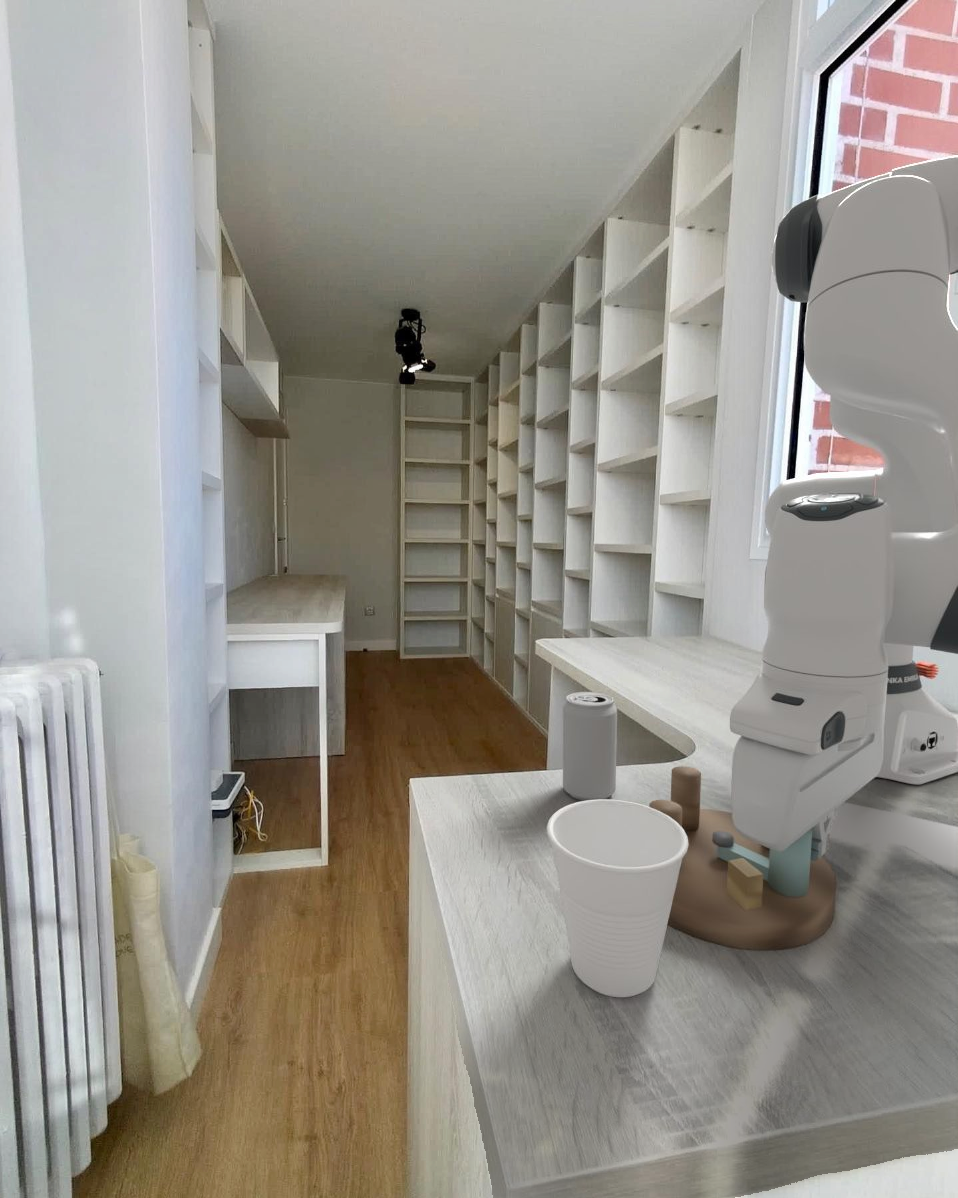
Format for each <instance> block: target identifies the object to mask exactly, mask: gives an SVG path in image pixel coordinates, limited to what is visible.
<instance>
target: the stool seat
mask: <svg viewBox="0 0 958 1198" xmlns="http://www.w3.org/2000/svg"><path fill="white" fill-rule="evenodd" d="M670 779H671V780H670V800H667V799H655V800H652V801H650V803H649V805H648V807H651V808H653V809H656V810H658V811H660V812H662V813H664V814H666V815H668V816H669V817H671V818H672V819H673V820H675V821H676V822H677V823H678V824H679V825H680V826H681V827H682V828H683V829H684V831H685V833H686V835H687V837H688V844H689V846H688V849H687V852H686V854H685V855H684V857H683V858H682V862H681V866H680V871H679V875H678V880H677V884H676V889H675V893H674V897H673V901H672V906H671V910H670V914H669V919H668V924H667V926H670V927H671V928H673V929H676V930H677V931H680V932H682V933H684V934H687V935H688V936H692V937H693V938H697V939H700V940H701V941H706V942H709V943H712V944H716V945H721V946H725V947H729V948H735V949H742V950H751V951H752V950H753V951H777V950H778V951H779V950H780V951H781V950H787V949H794V948H797V947H801V946H804V945H807V944H809V943H811V942H814V941H816V940H818V939H819V938H820V937H821V936H823V935H824V934H826V932H827V931H828V930H829V929H831V926H832V924H833V921H834V918H835V917H834V915H835V907H836V895H837V894H836V893H837V881H836V876H835V873H834V871H833V869H832V867H831V866H830V864H829V862H828V861H827V860H826V859H825V858H824V857H823V856H821V858H819V859H818V860H817V861H812V860H810V873H809V889H808V894H807V895H805V896H803V897H790V896H786V895H783V894H780V893H778V892H776V891H775V890H773V889H772V888H771V887H770V886H769V884H768V881H766V880H764V879H763V874H762V873H761V872H760V871H759V870H757V869H756V868H755V867H754V866H752V865H751V864H750V863H749V862H747V861H746V860H745V859H744V858H740V859H734V860H728V862H727V861H725V860H723V859H721V858H719V857H717V845H715V844H714V843H713V841H712V836H713V833H714V832H716V831H724V832H728V833H730V834H731V835H733V837H734V843H735V844H738V845H740V846H742V847H744V848H746V849H748V850H751V851H753V852H755V853H757V854H759V855H762V856H764V857H766V858H768V859H769V856H770V848H767V847H765V846H762V845H760V844H757V843H755V842H753V841H751V840H748V839H746V838H744V837H742V836H741V835H740V834H739V833H738V831H737V829H736V828H735V826H734V824H733V820H732V812H728V811H722V810H715V809H706V808H705V809H704V808H701V790H702V788H701V787H702V772H701V771H700V770H699V769H696V768H694V767H690V766H686V765H685V766H683V765H682V766H675V767H673V768H672V769H671V778H670Z"/></svg>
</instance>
